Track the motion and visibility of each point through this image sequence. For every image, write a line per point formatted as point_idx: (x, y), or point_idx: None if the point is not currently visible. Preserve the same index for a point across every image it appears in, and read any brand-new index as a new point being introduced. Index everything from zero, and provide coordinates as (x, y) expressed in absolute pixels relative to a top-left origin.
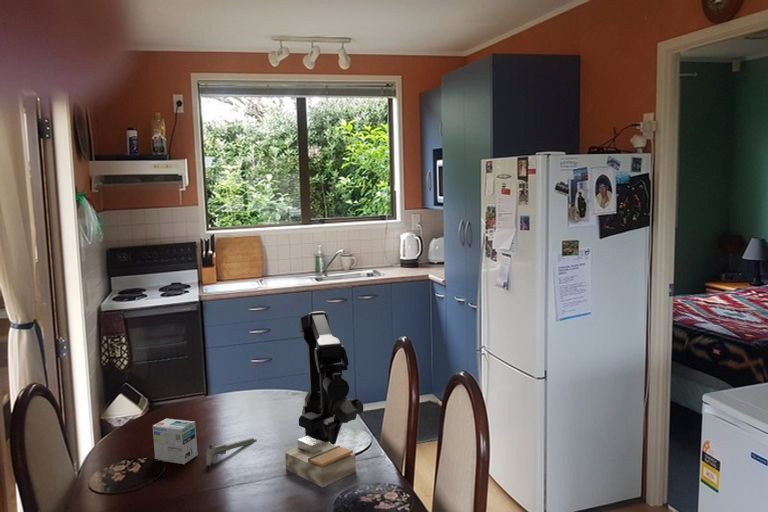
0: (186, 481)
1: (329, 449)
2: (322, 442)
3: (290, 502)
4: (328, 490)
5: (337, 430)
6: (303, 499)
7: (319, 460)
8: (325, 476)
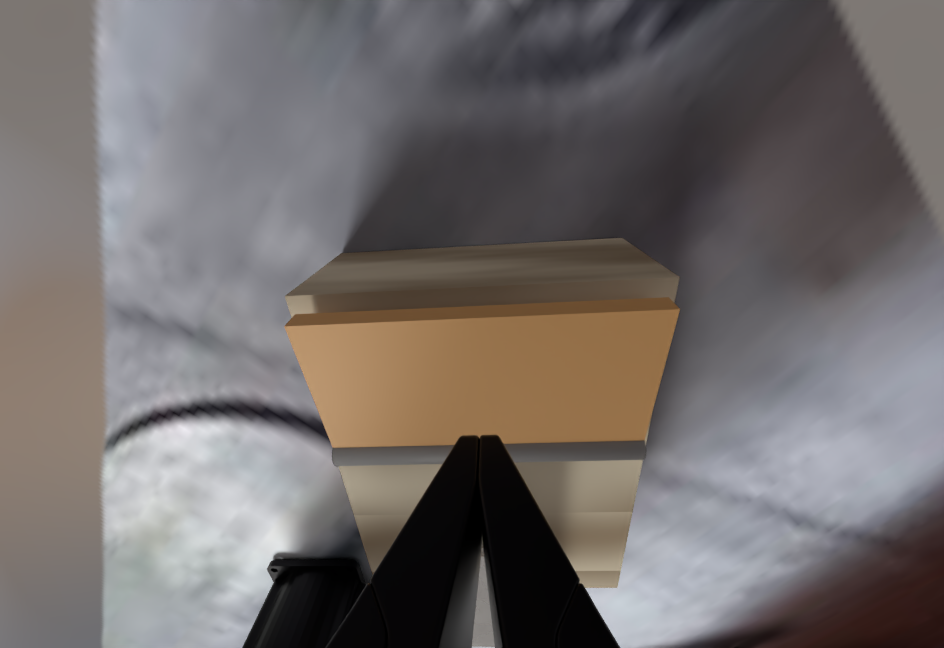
0: (874, 625)
1: (429, 462)
2: (380, 554)
3: (885, 227)
4: (628, 177)
5: (408, 643)
6: (814, 199)
7: (624, 380)
8: (616, 256)
